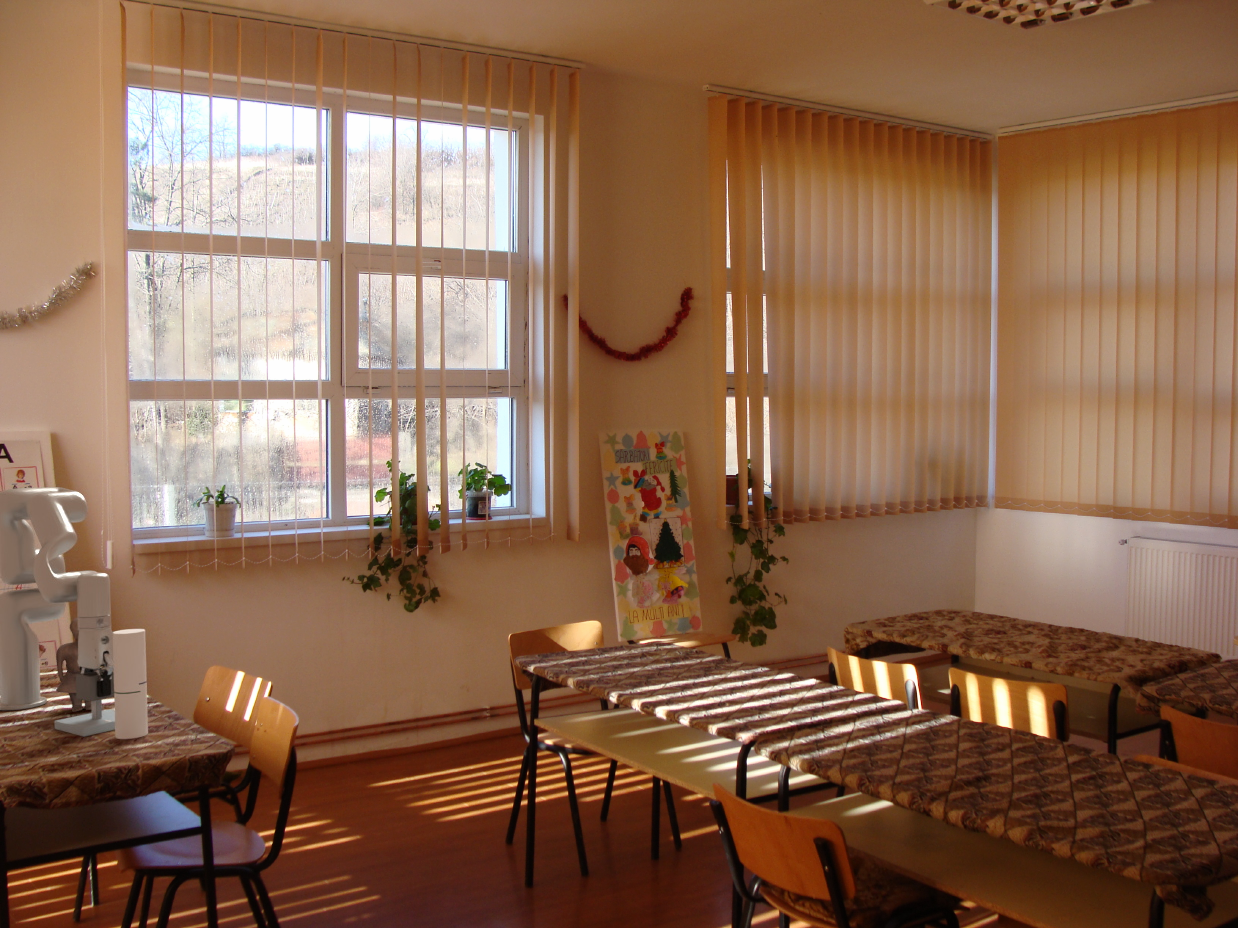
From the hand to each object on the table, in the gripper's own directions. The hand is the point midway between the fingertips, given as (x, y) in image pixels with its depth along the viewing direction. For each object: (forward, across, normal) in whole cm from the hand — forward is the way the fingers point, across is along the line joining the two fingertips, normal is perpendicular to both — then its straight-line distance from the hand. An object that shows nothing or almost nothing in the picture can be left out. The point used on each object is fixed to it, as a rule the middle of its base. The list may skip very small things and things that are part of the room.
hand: (96, 693), depth 266 cm
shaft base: (+8, 0, 0) cm, 8 cm away
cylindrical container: (+8, -16, 0) cm, 18 cm away
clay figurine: (+8, +22, -8) cm, 25 cm away
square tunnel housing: (+1, 0, 0) cm, 1 cm away
